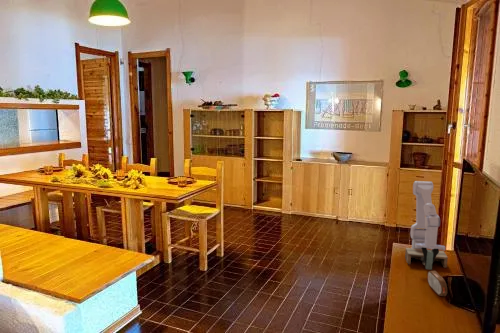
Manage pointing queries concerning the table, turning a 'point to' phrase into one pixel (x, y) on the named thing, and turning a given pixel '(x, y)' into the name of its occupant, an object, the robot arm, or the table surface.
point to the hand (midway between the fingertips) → (428, 261)
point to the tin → (437, 283)
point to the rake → (428, 260)
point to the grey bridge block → (418, 254)
